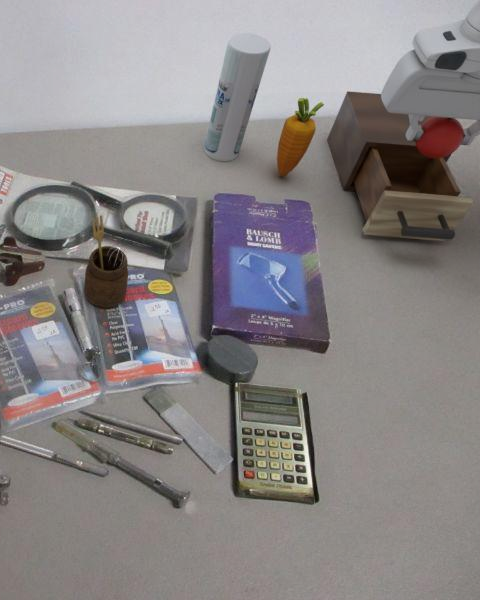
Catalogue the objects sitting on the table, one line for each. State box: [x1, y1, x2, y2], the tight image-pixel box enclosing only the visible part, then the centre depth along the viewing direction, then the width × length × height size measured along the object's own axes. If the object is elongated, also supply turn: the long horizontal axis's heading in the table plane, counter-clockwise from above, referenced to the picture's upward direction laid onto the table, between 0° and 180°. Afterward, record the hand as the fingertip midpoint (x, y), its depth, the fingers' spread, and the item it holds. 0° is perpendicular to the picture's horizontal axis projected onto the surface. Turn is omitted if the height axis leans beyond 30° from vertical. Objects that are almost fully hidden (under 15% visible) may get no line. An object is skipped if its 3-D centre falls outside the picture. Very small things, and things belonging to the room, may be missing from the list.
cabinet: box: [326, 90, 452, 192], centre depth 102 cm, size 15×14×10 cm
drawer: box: [353, 147, 474, 242], centre depth 92 cm, size 18×13×8 cm
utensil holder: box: [83, 214, 129, 309], centre depth 80 cm, size 6×6×12 cm
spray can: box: [203, 32, 272, 162], centre depth 99 cm, size 6×6×20 cm
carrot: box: [276, 97, 325, 178], centre depth 97 cm, size 5×5×15 cm
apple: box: [415, 116, 464, 158], centre depth 85 cm, size 6×6×7 cm
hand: (436, 140), depth 86 cm, fingers closed on apple, 6 cm apart
